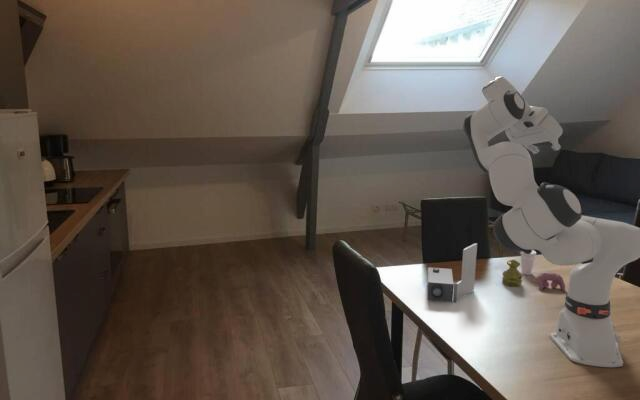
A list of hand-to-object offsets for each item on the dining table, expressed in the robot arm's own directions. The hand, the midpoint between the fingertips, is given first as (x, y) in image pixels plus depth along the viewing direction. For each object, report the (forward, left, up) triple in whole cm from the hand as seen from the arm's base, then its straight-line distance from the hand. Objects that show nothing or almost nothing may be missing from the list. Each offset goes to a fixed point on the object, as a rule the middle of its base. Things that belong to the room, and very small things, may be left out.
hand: (547, 150), depth 160 cm
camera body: (+11, +31, -56) cm, 65 cm away
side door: (+9, +22, -56) cm, 61 cm away
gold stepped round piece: (+26, +3, -57) cm, 62 cm away
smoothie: (+40, -5, -57) cm, 69 cm away
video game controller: (+25, -12, -57) cm, 63 cm away
